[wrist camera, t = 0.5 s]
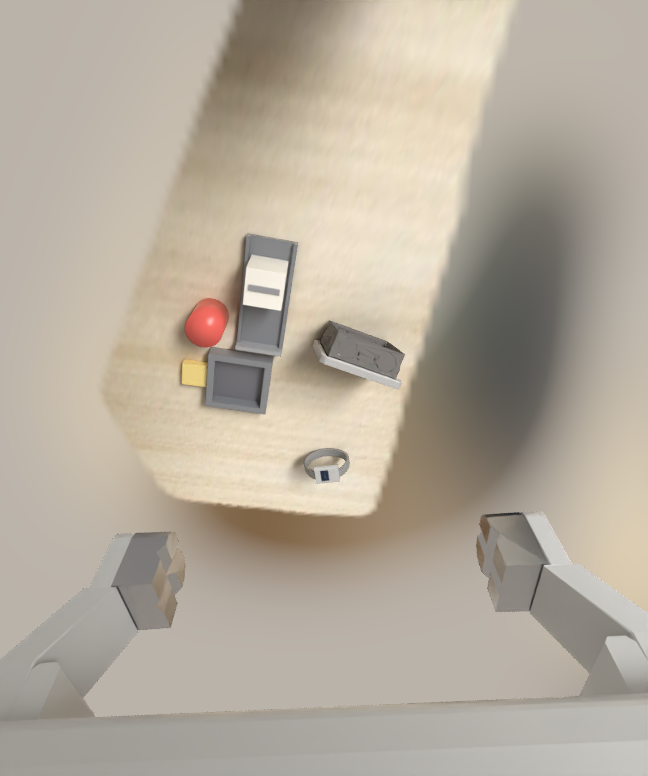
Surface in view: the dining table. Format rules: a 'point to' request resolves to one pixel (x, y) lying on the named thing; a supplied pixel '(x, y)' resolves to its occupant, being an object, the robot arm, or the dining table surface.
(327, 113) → the dining table surface
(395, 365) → the electrical switch
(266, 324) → the rail
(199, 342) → the cap
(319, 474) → the wristwatch
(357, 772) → the robot arm
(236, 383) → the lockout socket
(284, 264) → the white slotted block
